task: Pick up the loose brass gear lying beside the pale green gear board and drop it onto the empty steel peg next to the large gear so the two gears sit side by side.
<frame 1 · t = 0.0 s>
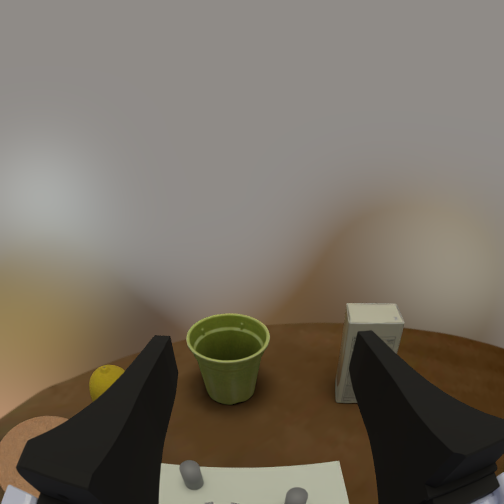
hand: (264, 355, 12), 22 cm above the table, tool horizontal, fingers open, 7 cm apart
lemon: (123, 416, 32), on the table
plant pot: (231, 389, 38), on the table
lidded jar: (77, 499, 20), on the table
skincare box: (356, 393, 36), on the table
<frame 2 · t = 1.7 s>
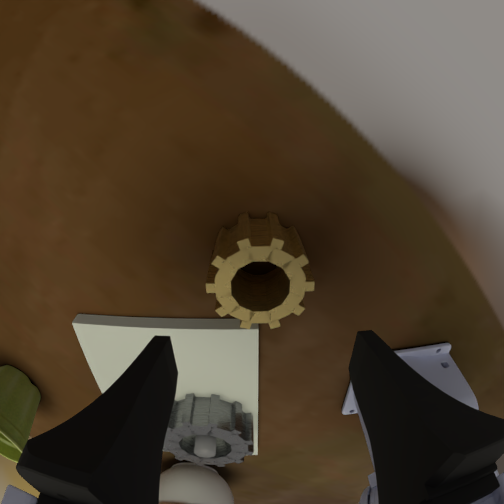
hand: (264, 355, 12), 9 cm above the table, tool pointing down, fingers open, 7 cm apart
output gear: (207, 420, 26), resting on gear board
gear board: (178, 396, 26), on the table
plant pot: (20, 381, 27), on the table
lidded jar: (194, 470, 33), on the table
brass gear: (258, 253, 20), on the table
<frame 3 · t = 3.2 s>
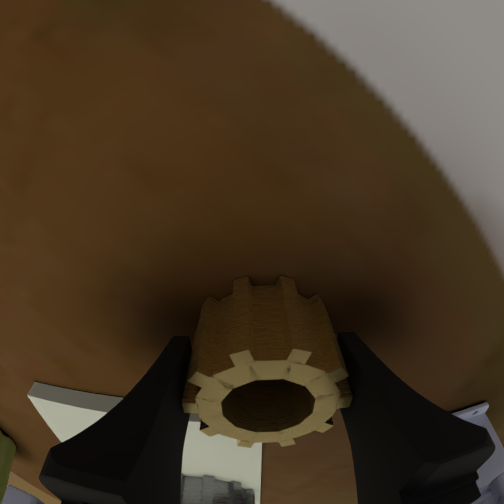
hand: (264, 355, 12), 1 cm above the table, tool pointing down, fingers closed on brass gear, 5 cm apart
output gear: (201, 493, 19), resting on gear board
gear board: (165, 468, 19), on the table
brass gear: (263, 332, 13), on the table, touching gripper
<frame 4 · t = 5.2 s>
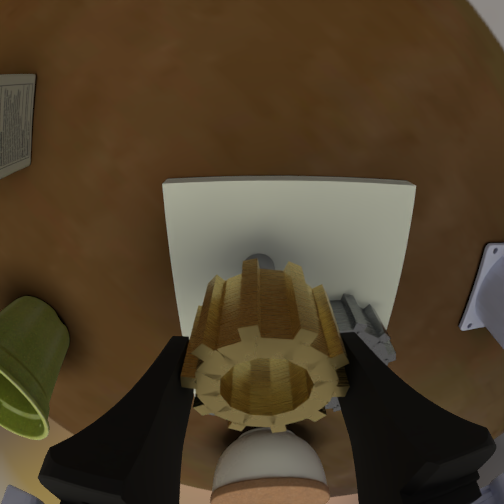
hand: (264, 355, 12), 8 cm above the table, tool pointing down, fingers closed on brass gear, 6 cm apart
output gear: (324, 343, 21), resting on gear board
gear board: (287, 311, 21), on the table
plant pot: (41, 323, 22), on the table
lidded jar: (266, 439, 28), on the table
brass gear: (264, 317, 13), point 6 cm above the table, touching gripper
skincare box: (12, 122, 15), on the table
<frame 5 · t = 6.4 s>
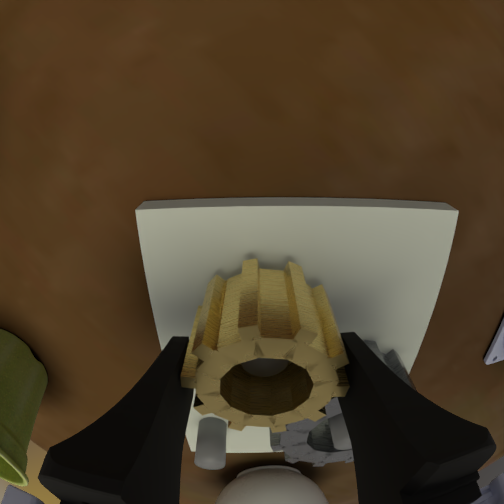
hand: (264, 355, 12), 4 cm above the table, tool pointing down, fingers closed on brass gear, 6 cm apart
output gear: (337, 392, 17), resting on gear board
gear board: (296, 357, 17), on the table
plant pot: (17, 356, 18), on the table
lidded jar: (268, 475, 25), on the table
brass gear: (264, 317, 13), point 2 cm above the table, touching gripper
when the fingers open (4 cm above the table, at t = 7.1 s): brass gear stays where it is, resting on gear board.
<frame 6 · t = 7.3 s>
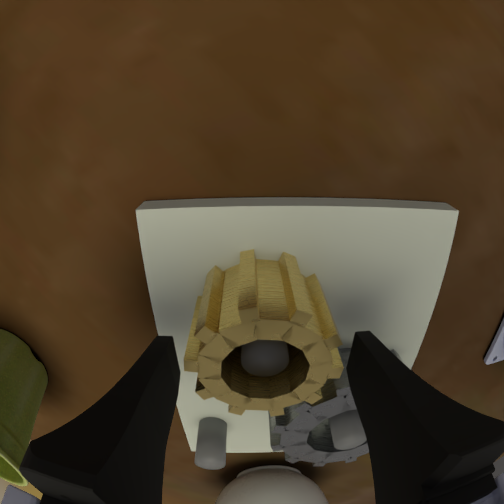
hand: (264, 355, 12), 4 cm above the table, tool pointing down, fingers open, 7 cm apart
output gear: (337, 391, 17), resting on gear board
gear board: (296, 357, 17), on the table
plant pot: (17, 356, 18), on the table
lidded jar: (268, 475, 25), on the table
brass gear: (260, 306, 14), point 1 cm above the table, touching gear board
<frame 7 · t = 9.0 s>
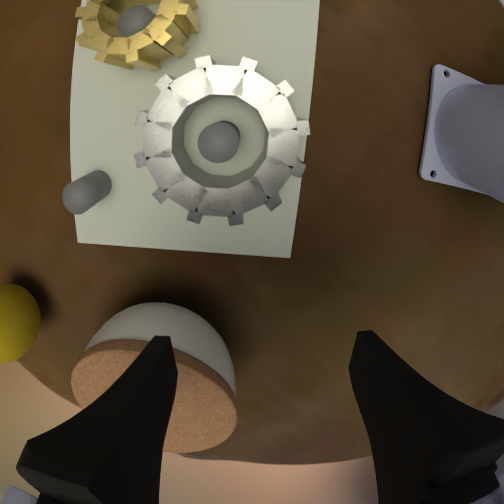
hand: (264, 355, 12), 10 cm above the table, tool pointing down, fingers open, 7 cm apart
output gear: (223, 136, 17), resting on gear board
gear board: (184, 100, 17), on the table
lemon: (31, 294, 22), on the table
lidded jar: (171, 333, 24), on the table
brass gear: (151, 26, 14), point 1 cm above the table, touching gear board
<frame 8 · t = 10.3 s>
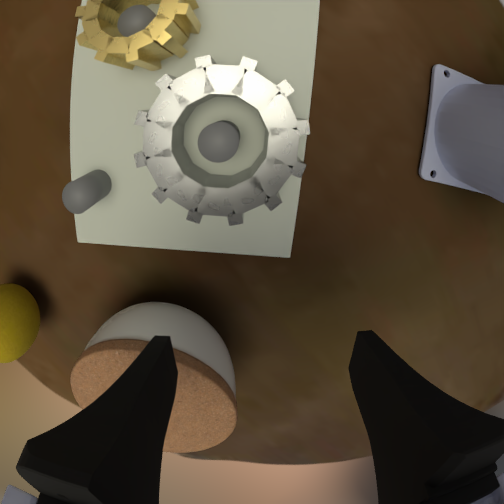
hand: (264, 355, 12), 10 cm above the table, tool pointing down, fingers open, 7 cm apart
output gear: (223, 136, 16), resting on gear board
gear board: (184, 99, 17), on the table
lemon: (31, 293, 22), on the table
lidded jar: (171, 333, 24), on the table
brass gear: (151, 26, 14), point 1 cm above the table, touching gear board
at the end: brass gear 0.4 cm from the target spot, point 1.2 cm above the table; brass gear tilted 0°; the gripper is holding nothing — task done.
